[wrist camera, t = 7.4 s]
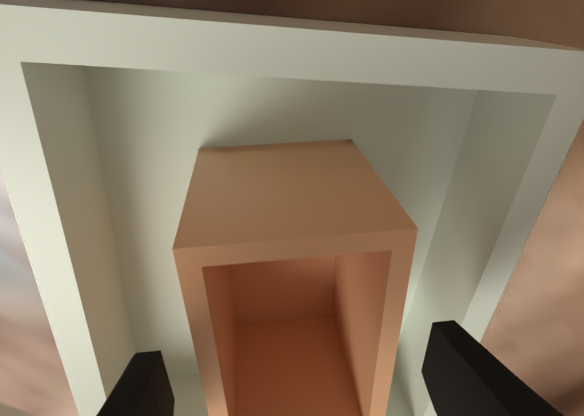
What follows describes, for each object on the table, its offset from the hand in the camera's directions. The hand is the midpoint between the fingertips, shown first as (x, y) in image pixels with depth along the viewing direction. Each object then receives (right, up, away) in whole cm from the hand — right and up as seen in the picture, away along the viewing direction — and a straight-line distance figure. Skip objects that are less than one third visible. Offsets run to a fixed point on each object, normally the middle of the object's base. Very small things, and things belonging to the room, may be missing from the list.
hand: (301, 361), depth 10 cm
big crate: (-1, +3, +5) cm, 6 cm away
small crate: (-1, +3, +4) cm, 5 cm away
